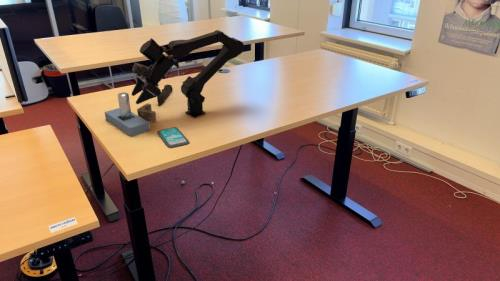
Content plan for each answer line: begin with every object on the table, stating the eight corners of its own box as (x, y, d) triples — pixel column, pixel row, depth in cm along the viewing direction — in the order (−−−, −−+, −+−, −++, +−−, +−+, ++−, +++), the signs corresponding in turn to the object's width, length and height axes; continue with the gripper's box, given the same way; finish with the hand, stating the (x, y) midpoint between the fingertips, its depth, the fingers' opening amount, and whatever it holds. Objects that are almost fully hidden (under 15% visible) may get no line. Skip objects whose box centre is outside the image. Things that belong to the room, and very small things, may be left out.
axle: (134, 125, 151) (130, 94, 144) (125, 128, 148) (120, 97, 142) (129, 122, 153) (125, 91, 147) (120, 124, 150) (115, 94, 144)
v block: (151, 111, 163) (150, 102, 161) (157, 121, 154) (156, 112, 152) (136, 113, 160) (135, 105, 158) (141, 124, 151) (140, 115, 149)
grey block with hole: (149, 130, 147) (149, 122, 145) (131, 136, 142) (130, 128, 140) (123, 114, 159) (122, 106, 158) (105, 120, 154) (104, 112, 152)
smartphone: (168, 147, 134) (155, 130, 146) (168, 149, 135) (155, 132, 146) (190, 142, 138) (176, 126, 149) (191, 144, 138) (177, 128, 150)
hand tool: (164, 91, 185) (164, 82, 183) (173, 92, 185) (172, 83, 182) (152, 106, 168) (151, 97, 166) (161, 107, 168) (160, 97, 166)
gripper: (139, 49, 149) (113, 79, 150) (149, 62, 134) (120, 95, 135) (160, 67, 156) (136, 95, 156) (172, 81, 141) (145, 112, 142)
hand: (134, 99), depth 147 cm, fingers open, 9 cm apart
